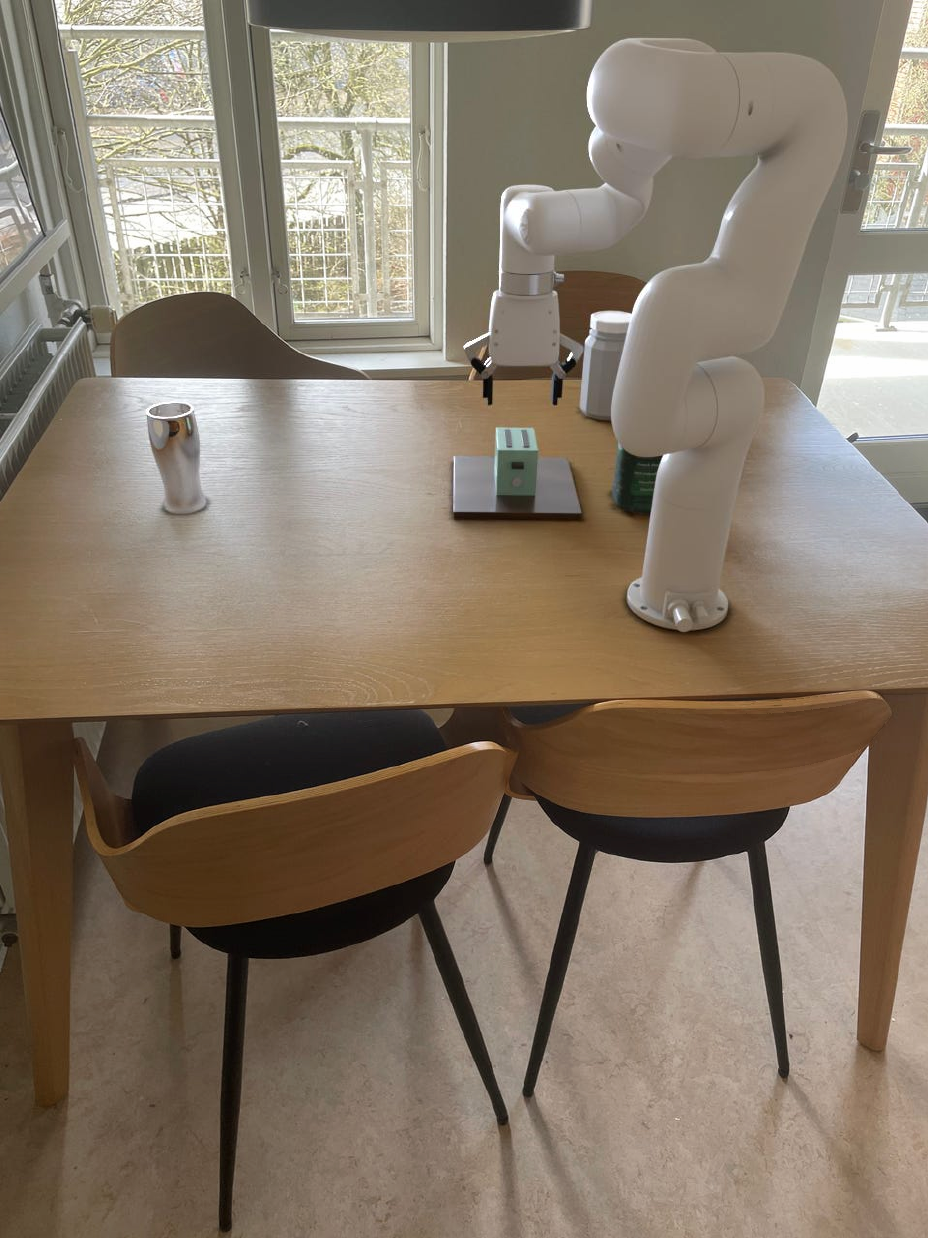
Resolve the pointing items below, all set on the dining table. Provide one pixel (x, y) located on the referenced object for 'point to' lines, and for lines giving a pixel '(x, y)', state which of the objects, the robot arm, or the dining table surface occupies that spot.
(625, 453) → the coffee jar
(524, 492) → the toaster
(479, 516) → the board
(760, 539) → the dining table surface
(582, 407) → the jar
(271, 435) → the dining table surface
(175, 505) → the beer glass
